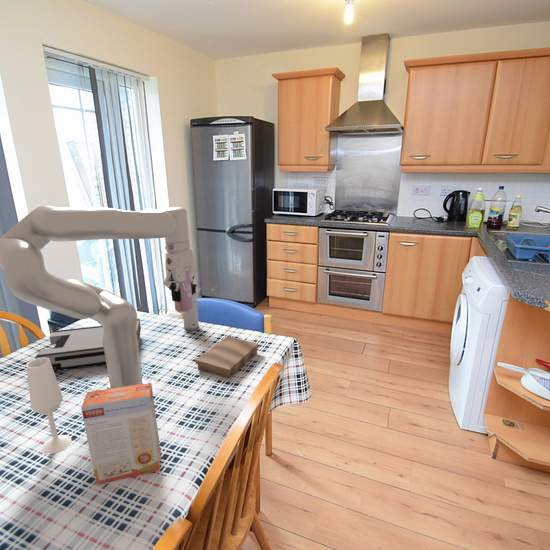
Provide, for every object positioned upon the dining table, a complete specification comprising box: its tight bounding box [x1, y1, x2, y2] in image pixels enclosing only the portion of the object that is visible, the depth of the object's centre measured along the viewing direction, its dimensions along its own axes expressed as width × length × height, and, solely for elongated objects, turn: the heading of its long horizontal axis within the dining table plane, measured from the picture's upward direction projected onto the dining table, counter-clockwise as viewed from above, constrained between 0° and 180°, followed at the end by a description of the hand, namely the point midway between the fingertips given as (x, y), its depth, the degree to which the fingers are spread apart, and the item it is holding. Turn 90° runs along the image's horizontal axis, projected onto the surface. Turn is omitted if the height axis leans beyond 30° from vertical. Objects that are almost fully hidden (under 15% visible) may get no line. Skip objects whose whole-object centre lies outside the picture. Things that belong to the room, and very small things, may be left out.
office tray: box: [34, 318, 142, 371], centre depth 137 cm, size 21×32×8 cm, turn 105°
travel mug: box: [182, 283, 200, 332], centre depth 156 cm, size 6×7×20 cm
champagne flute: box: [25, 357, 72, 455], centre depth 90 cm, size 7×7×24 cm
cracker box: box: [80, 382, 162, 484], centre depth 83 cm, size 14×6×21 cm, turn 104°
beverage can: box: [173, 269, 193, 314], centre depth 122 cm, size 6×6×15 cm
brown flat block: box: [194, 335, 260, 380], centre depth 131 cm, size 20×14×4 cm
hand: (183, 297), depth 122 cm, fingers closed on beverage can, 6 cm apart
